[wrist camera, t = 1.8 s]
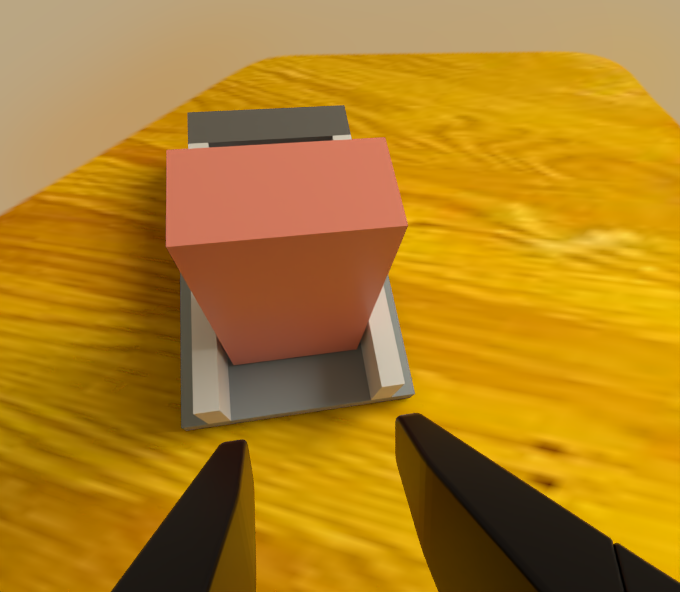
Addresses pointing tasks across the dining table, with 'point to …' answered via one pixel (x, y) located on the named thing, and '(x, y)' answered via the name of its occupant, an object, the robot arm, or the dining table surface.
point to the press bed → (291, 373)
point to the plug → (284, 241)
